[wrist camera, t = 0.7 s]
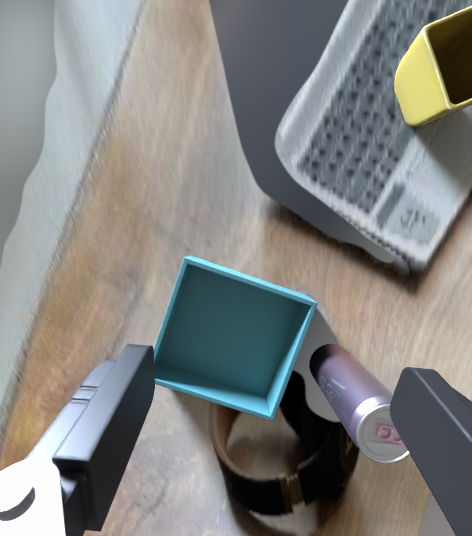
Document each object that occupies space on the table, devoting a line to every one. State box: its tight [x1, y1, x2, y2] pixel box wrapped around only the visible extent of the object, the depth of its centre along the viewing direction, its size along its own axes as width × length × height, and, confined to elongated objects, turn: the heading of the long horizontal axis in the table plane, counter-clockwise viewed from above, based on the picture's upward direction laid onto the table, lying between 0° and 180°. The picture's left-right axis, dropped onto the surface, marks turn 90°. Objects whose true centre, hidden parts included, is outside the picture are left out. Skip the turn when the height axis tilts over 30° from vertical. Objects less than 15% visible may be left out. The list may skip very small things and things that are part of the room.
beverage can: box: [309, 344, 410, 464], centre depth 32 cm, size 6×6×15 cm
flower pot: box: [395, 6, 472, 127], centre depth 32 cm, size 9×9×9 cm
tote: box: [154, 256, 318, 422], centre depth 36 cm, size 17×16×5 cm
